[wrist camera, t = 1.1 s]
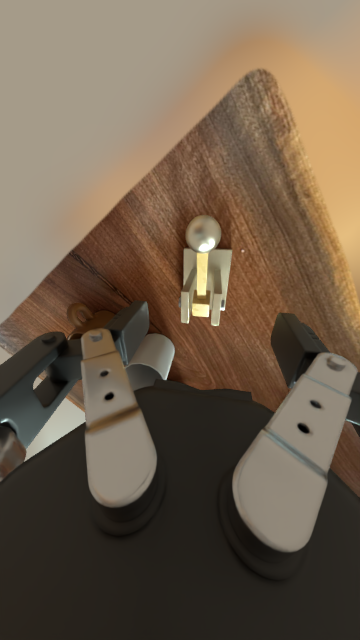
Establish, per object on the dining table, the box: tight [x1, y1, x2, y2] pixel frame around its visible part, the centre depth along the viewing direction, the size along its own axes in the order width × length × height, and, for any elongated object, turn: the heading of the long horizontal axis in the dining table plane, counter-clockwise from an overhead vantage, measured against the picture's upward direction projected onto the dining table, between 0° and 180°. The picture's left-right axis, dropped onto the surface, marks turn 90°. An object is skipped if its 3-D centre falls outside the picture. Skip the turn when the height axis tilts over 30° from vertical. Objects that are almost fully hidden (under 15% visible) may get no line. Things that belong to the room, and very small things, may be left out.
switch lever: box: [186, 215, 221, 317], centre depth 21 cm, size 13×3×3 cm, turn 179°
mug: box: [66, 303, 115, 340], centre depth 39 cm, size 12×8×9 cm, turn 13°
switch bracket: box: [179, 247, 232, 326], centre depth 29 cm, size 11×8×13 cm
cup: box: [125, 333, 175, 390], centre depth 41 cm, size 8×8×10 cm
